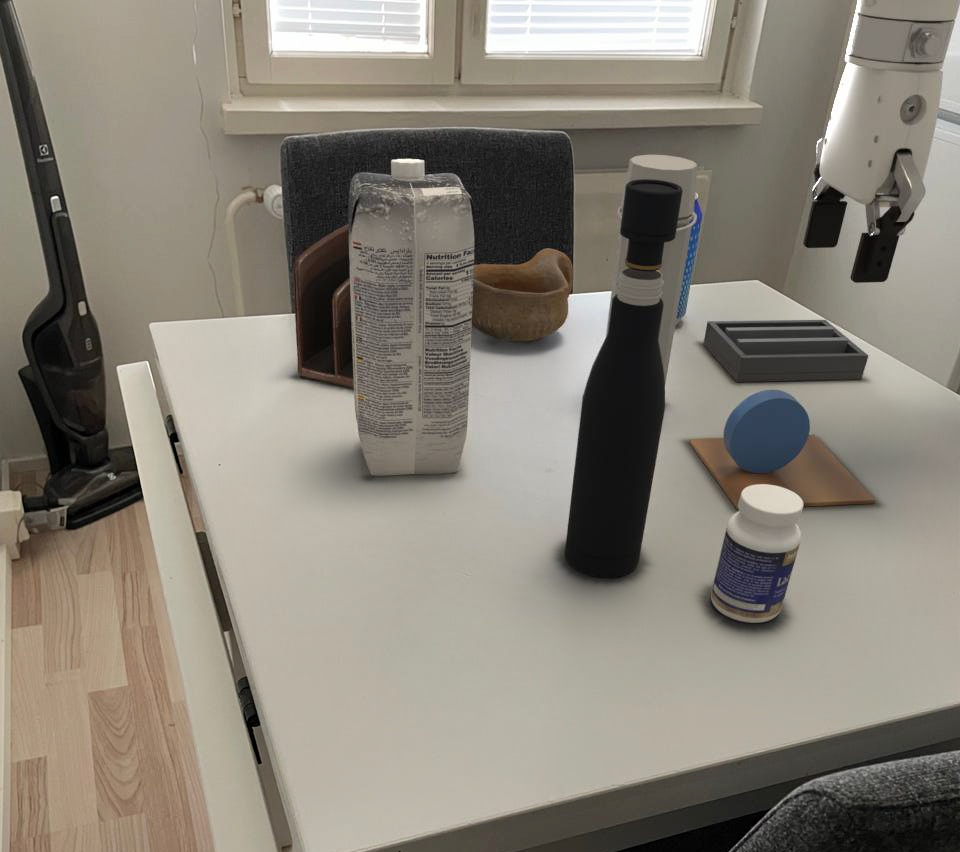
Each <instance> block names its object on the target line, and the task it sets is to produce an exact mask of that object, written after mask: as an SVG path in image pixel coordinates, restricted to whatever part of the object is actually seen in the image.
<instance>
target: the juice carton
mask: <svg viewBox="0 0 960 852" xmlns="http://www.w3.org/2000/svg"><path fill="white" fill-rule="evenodd" d="M425 169H426V168H425V160H424V159H418V158H397V159H391V161H390V171H391V172H390V173H391V174H385V173H378V172H377V173H376V172H367V171H366V172H357V173H355V174H354V175H353V176H352V179H351V181H350V185H349V192H348V216H347V217H348V224H349V264H350V293H351V321H352V349H353V376H354V388H353V399H354V412H355V419H356V423H357V432H358V437H359V438H358V439H359V443H360V447H361V450H362V453H363V457H364V460H365V463H366V466H367V468H368V471H369V473H370V475H371V476H374V477H375V476H377V477H378V476H379V477H381V476H382V477H384V476H402V475H423V474H425V475H426V474H428V475H429V474H431V475H432V474H433V475H434V474H451V473H452V474H453V473H456V472H457V471H458V469H459V466H460V462H461V459H462V455H463V451H464V448H465V444H466V443H465V442H466V440H467V439H466V438H467V433H468V421H469V419H468V418H469V401H470V400H469V399H470V398H469V397H470V375H471V351H472V327H473V326H472V302H473V275H474V265H475V229H474V220H475V219H474V217H475V206H474V200H473V199H472V197H471V195H470V194H469V193H468V191H467V190H466V189H465V187H464V184H463V182H462V180H461V179H460V177H459V176H458V175H457V174H455V173H452V172H443V173H433V174H425V173H426V172H425V171H426V170H425Z"/></svg>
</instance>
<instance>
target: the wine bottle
mask: <svg viewBox="0 0 960 852" xmlns="http://www.w3.org/2000/svg"><path fill="white" fill-rule="evenodd" d="M682 192H683V190H682V187H680V186H679V185H677V184H675V183H672V182H667V181H662V180H652V179H640V180H633V181H630V182H628V183H627V184H626V188H625V196H624V204H623V212H621V215H622V219H621V227H620V226H619V228H620V234H621V235H622V236H623V237H625V238H627V239H629V242H628V249H627V257H626V258H625V264H626V266H627V267H629V268H625V269H623V270H622V271H621V275H620V276H619V277H618V282H619V286H618V287H617V288H616V289H617V292H618V294H616V295H615V296H614V297H613V298H612V305H611V313H610V321H609V328H608V334H607V336H606V335H605V339H604V340H603V342H602V345H601V346H600V349H599V350H598V352H597V355H596V357H595V359H594V361H593V362H592V363H593V364H592V366H591V369H590V372H589V374H588V377H587V380H586V383H585V387H584V390H583V394H582V400H581V408H580V415H579V416H580V417H579V426H578V434H577V443H576V450H575V460H574V468H573V477H572V485H571V486H572V487H571V495H570V503H569V510H568V511H569V513H568V520H567V529H566V538H565V546H564V547H565V548H564V558H565V560H566V561H567V563H568V565H570V567H572V568H573V569H575V570H576V571H578V572H580V573H582V574H584V575H586V576H587V575H588V576H590V577H595V578H603V579H604V578H605V579H612V578H619V577H622V576H623V577H624V576H626V575H628V574H630V573H632V572H633V571H634V570H636V569H637V567H638V565H639V562H640V556H641V551H642V545H643V540H644V535H645V534H644V533H645V528H646V521H647V517H648V510H649V505H650V498H651V492H652V486H653V482H654V475H655V469H656V462H657V458H658V452H659V446H660V440H661V435H662V434H661V433H662V428H663V421H664V415H665V410H666V384H665V378H664V369H663V363H662V357H661V352H660V346H659V340H658V339H659V332H660V326H661V319H662V313H663V307H664V303H663V300H662V299H661V298H660V297H661V296H662V294H663V292H662V290H661V287H662V286H663V285H664V281H663V274H662V273H661V272H659V271H657V270H658V269H660V268H661V267H662V256H663V249H664V243H665V242H670V241H672V240H674V239H675V236H676V230H677V224H678V217H679V211H680V205H681V198H682Z"/></svg>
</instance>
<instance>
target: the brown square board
mask: <svg viewBox="0 0 960 852" xmlns="http://www.w3.org/2000/svg"><path fill="white" fill-rule="evenodd" d="M688 442H689V444H690V446H691V447H692V448H693V450H694V452H695V453H696V454H697V455H698V457H699V459H700V460H701V461H702V462H703V464H704V465H705V467H706V468H707V470H708V471H709V473H710V474H711V475H712V477H713V478H714V479H715V481H716V482H717V484H718V485H719V486H720V488H721V489H722V491H723V493H724V494H725V495H726V496H727V498H728V499H729V500H730V502H731V503H732V505H733V506H734V508H735V509H736V510H739V509H738V503H739V499H740V496H741V493H742V491H743V490H744V489H745V488H746V487H748V486H751V485H758V484H768V485H775V486H779V487H783V488H786V489H788V490H790V491H792V492H794V493H796V494H797V495H798V496H799V497H800V498H801V499H802V501H803V507H824V506H849V505H867V504H868V505H869V504H870V505H871V504H875V502H876V499H875V498H874V497H873V496H872V495H871V494H870V492H868V490H867V489H866V488H865V487H864V486H863V484H861V483H860V482H859V481H858V479H856V478H855V477H854V475H853V474H851V472H850V471H849V470H848V469H847V468H846V467H845V466H844V465H843V464H842V463H841V462H840V461H839V460H838V458H836V457H835V455H833V453H832V452H831V451H830V450H829V449H828V448H827V447H826V446H825V445H824V444H823V442H822V441H820V440H819V438H818V437H817V436H816V435H815V434H809V436H808V439H807V441H806V444H805V446H804V447H803V449H802V450H801V452H800V453H799V454H798V455H797V456H796V457H795V458H794V459H793V460H792V461H791V462H790V463H788V464H787V465H785V466H784V467H782V468H780V469H778V470H775V471H772V472H768V473H752V472H748V471H746V470H744V469H742V468H741V467H739V466H738V465H737V464H736V462H735V461H734V460H733V458H732V457H731V456H730V455H729V453H728V452H727V450H726V448H725V445H724V439H723V437H708V438H689V439H688Z"/></svg>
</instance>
